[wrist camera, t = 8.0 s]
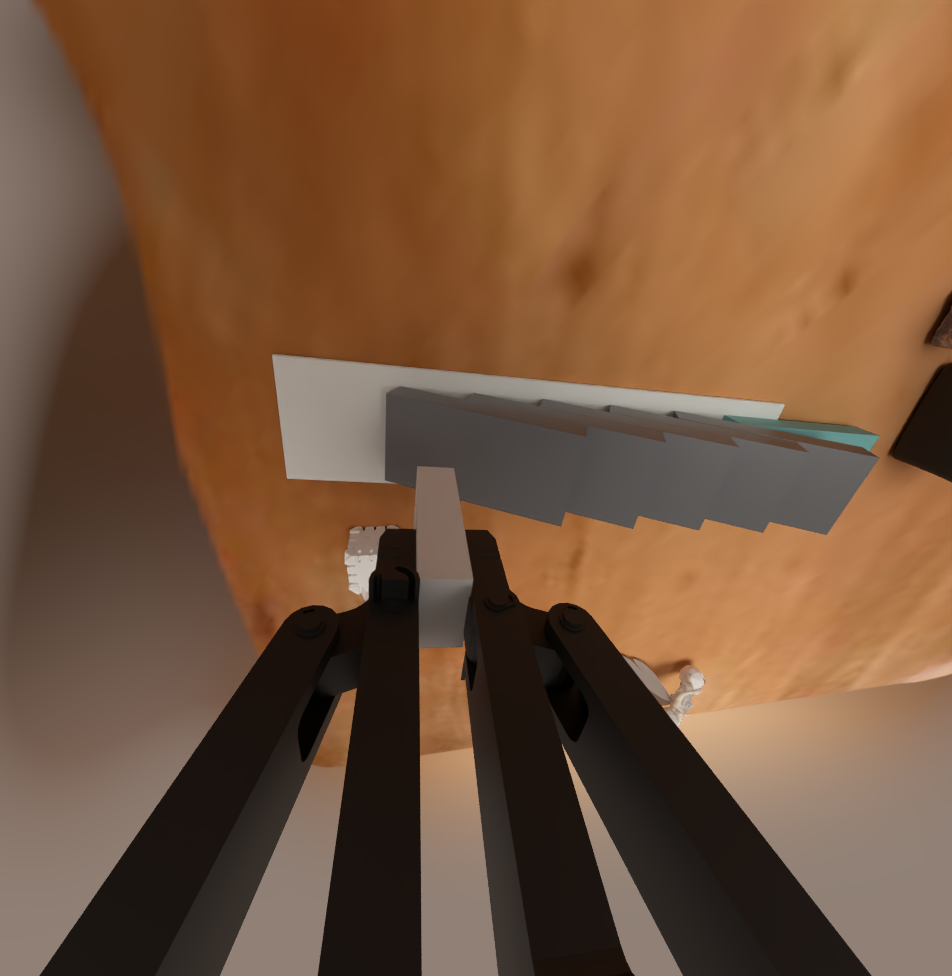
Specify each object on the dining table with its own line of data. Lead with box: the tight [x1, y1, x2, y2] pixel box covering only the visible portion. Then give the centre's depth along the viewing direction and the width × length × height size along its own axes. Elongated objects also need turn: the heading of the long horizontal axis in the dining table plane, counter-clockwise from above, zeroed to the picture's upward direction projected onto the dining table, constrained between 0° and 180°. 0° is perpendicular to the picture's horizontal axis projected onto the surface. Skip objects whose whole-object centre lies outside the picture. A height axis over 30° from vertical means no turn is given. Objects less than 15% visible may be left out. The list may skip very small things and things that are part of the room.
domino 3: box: [540, 399, 740, 530], centre depth 22 cm, size 5×2×10 cm
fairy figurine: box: [623, 656, 705, 727], centre depth 37 cm, size 6×7×7 cm
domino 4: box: [608, 405, 810, 533], centre depth 23 cm, size 5×2×10 cm
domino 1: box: [385, 386, 588, 526], centre depth 21 cm, size 5×2×10 cm
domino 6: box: [673, 411, 879, 535], centre depth 24 cm, size 5×2×10 cm
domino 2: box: [467, 393, 667, 529], centre depth 22 cm, size 5×2×10 cm
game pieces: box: [345, 525, 399, 602], centre depth 28 cm, size 12×3×3 cm, turn 178°
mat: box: [272, 354, 785, 484], centre depth 24 cm, size 7×30×1 cm, turn 83°
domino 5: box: [722, 415, 879, 451], centre depth 26 cm, size 5×2×10 cm
